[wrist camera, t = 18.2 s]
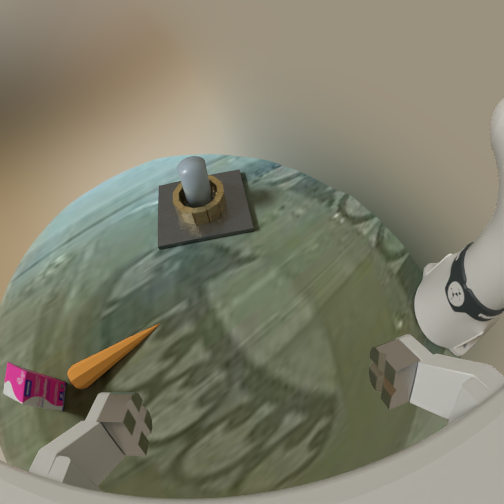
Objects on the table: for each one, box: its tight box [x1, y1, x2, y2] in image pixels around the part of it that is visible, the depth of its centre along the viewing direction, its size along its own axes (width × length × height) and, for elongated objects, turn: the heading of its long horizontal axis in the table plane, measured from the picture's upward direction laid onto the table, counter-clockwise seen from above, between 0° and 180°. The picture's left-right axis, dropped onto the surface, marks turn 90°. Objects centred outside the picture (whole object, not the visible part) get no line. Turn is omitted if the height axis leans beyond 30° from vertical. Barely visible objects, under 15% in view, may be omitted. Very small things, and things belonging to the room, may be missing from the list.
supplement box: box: [4, 362, 66, 411], centre depth 32 cm, size 6×6×12 cm
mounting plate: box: [158, 170, 254, 249], centre depth 56 cm, size 18×16×1 cm
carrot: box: [67, 324, 159, 389], centre depth 40 cm, size 20×4×4 cm, turn 129°
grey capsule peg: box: [177, 156, 213, 208], centre depth 51 cm, size 5×5×10 cm
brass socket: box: [173, 175, 226, 225], centre depth 54 cm, size 10×10×4 cm
